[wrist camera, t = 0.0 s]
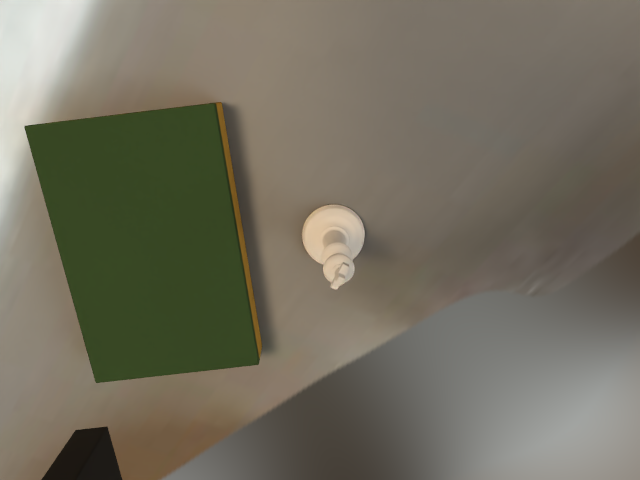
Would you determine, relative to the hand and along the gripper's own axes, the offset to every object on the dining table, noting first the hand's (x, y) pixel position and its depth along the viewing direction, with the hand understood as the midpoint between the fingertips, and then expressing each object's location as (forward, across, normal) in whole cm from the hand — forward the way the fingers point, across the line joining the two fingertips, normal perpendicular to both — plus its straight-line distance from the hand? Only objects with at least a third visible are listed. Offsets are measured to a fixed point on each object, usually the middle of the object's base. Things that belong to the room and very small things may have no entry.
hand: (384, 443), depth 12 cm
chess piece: (+28, 0, -3) cm, 28 cm away
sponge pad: (+28, -14, -2) cm, 31 cm away
